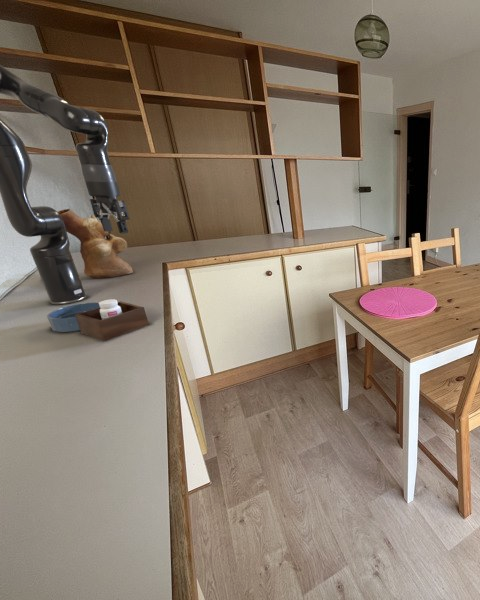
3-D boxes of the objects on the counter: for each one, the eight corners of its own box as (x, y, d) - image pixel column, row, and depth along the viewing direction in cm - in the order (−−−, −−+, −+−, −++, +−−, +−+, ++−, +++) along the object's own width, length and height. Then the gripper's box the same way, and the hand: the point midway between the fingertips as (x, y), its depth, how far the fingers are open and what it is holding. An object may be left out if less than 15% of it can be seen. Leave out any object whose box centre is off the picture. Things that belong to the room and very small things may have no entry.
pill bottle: (114, 331, 92) (105, 305, 89) (101, 329, 93) (92, 303, 90) (130, 324, 97) (122, 299, 94) (117, 323, 98) (109, 298, 95)
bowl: (43, 327, 94) (37, 314, 93) (95, 312, 106) (91, 300, 104) (67, 336, 90) (61, 322, 88) (119, 319, 101) (115, 306, 100)
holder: (81, 333, 92) (74, 314, 90) (126, 318, 102) (120, 301, 100) (105, 340, 88) (98, 321, 86) (149, 324, 98) (144, 307, 96)
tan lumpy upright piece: (140, 273, 148) (121, 208, 137) (78, 285, 131) (51, 211, 120) (126, 268, 156) (107, 205, 145) (66, 278, 139) (39, 208, 128)
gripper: (128, 181, 99) (142, 232, 105) (101, 179, 104) (116, 229, 110) (99, 180, 92) (116, 235, 98) (72, 179, 97) (89, 231, 103)
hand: (116, 232), depth 104 cm, fingers open, 8 cm apart
